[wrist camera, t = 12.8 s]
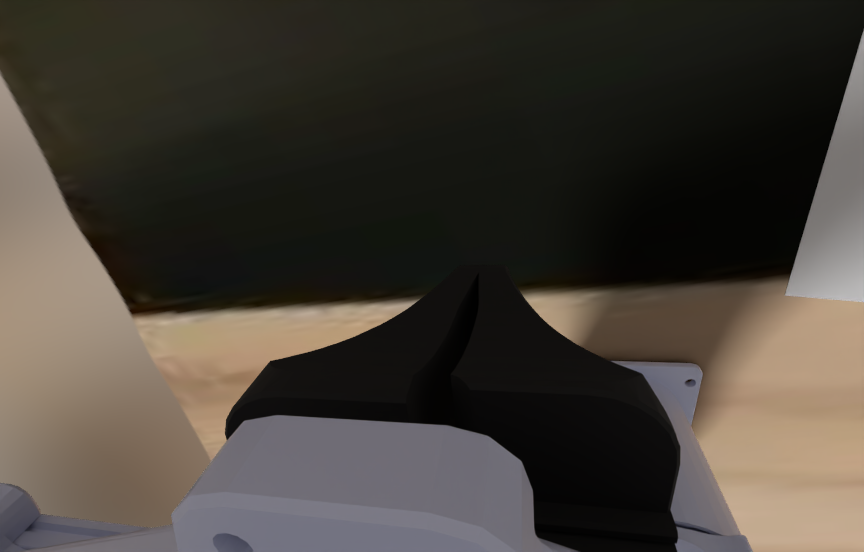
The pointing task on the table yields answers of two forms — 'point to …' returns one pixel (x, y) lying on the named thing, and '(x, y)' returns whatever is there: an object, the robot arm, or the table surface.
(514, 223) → the table surface
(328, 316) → the table surface
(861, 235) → the dock
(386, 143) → the table surface
